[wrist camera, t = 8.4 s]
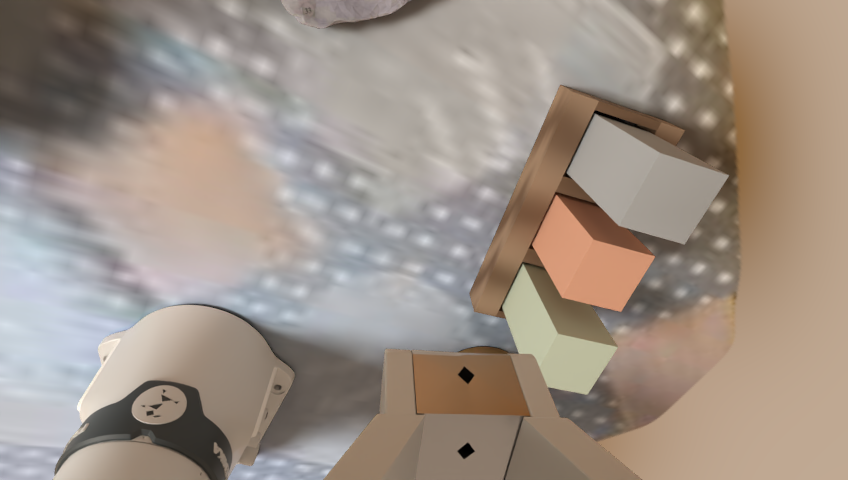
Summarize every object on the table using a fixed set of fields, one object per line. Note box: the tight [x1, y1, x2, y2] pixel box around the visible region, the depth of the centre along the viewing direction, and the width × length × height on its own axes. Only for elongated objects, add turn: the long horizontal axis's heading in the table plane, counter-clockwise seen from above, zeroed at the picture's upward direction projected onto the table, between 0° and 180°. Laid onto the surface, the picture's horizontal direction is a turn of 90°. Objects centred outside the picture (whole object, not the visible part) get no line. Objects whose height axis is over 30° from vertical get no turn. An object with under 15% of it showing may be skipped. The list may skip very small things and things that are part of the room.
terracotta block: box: [531, 192, 655, 312], centre depth 38 cm, size 5×5×10 cm
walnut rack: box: [469, 85, 685, 319], centre depth 42 cm, size 21×10×3 cm, turn 162°
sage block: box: [502, 262, 618, 395], centre depth 40 cm, size 5×5×10 cm
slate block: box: [566, 113, 729, 245], centre depth 34 cm, size 5×5×10 cm
